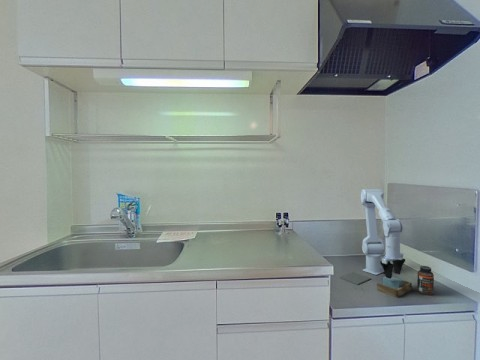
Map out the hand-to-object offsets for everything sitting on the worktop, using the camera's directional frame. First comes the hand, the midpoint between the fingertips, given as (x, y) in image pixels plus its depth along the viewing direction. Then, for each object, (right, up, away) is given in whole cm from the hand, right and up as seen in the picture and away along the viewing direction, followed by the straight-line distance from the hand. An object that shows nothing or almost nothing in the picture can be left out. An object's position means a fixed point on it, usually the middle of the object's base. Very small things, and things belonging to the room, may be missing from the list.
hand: (392, 275), depth 122 cm
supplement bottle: (+12, -6, -3) cm, 14 cm away
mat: (-12, -6, +13) cm, 18 cm away
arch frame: (0, -6, 0) cm, 6 cm away
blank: (0, -6, 0) cm, 6 cm away
